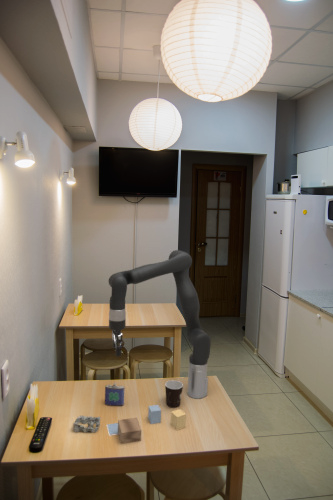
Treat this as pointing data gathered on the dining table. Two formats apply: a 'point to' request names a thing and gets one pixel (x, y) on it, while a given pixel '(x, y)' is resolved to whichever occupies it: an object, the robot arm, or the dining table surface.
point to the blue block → (154, 414)
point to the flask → (114, 395)
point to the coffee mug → (173, 393)
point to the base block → (129, 430)
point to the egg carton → (85, 420)
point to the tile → (112, 429)
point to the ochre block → (178, 419)
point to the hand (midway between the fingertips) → (116, 352)
